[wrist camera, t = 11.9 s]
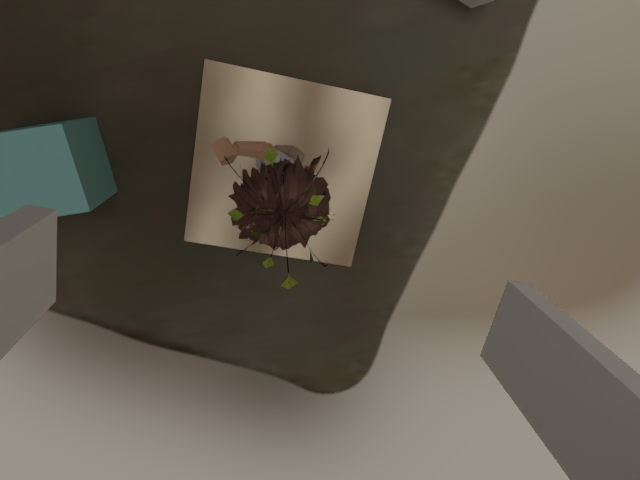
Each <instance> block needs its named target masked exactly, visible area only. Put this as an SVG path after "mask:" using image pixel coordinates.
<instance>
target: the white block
mask: <svg viewBox="0 0 640 480" xmlns="http://www.w3.org/2000/svg"><path fill="white" fill-rule="evenodd" d="M459 1H460V2H462V3H463V4H465V5H467V6H468V7H470V8H474V7H477V6H480V5H483V4H486V3H489V2H491V1H494V0H459Z"/></svg>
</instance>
